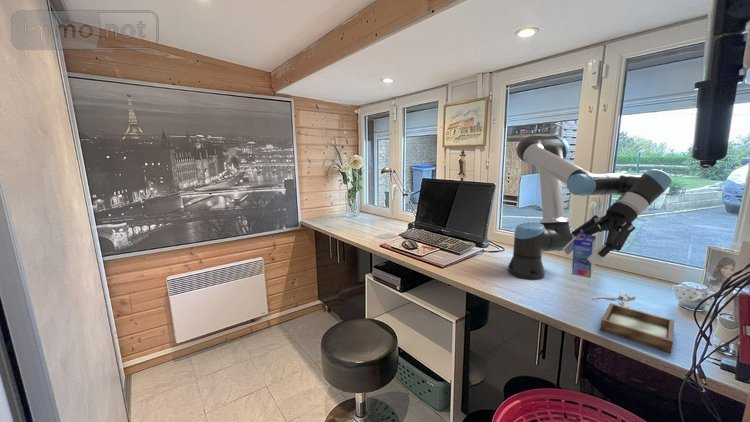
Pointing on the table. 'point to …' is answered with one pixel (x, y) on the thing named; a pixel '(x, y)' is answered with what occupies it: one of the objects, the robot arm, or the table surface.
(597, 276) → the table surface
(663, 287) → the table surface
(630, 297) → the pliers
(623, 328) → the wooden tray
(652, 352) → the table surface
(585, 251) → the ink cartridge box
